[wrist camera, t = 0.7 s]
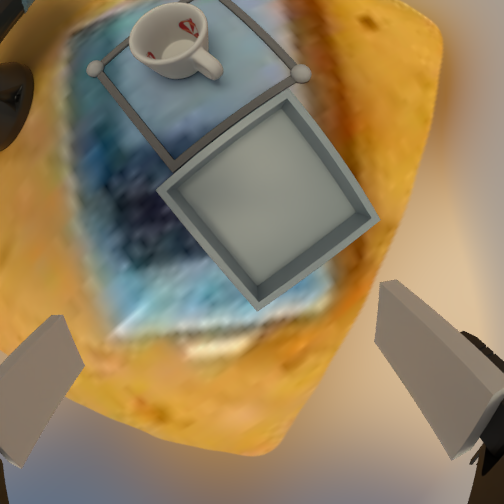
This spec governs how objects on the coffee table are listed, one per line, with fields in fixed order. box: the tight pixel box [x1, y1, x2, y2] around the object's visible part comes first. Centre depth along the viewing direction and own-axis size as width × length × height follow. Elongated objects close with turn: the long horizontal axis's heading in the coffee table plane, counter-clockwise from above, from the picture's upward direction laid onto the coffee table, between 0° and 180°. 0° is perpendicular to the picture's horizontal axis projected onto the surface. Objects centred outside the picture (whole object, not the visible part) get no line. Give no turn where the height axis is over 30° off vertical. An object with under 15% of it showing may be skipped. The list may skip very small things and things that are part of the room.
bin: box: [156, 88, 380, 311], centre depth 30 cm, size 17×17×5 cm
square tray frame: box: [87, 0, 311, 173], centre depth 27 cm, size 21×21×2 cm
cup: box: [129, 2, 223, 80], centre depth 23 cm, size 11×8×8 cm
